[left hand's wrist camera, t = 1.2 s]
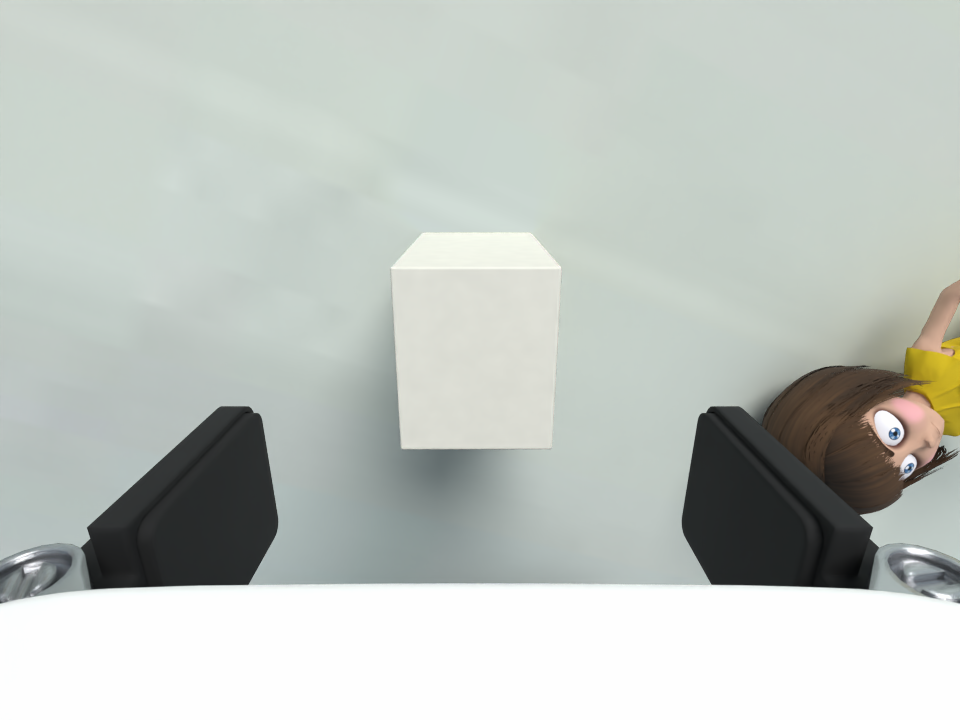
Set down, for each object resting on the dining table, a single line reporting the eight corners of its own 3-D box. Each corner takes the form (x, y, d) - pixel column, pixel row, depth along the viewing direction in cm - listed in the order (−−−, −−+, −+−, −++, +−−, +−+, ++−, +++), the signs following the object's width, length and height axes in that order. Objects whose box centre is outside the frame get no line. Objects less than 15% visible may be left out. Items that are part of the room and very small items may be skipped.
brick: (531, 232, 25) (562, 267, 16) (527, 356, 28) (552, 449, 18) (421, 232, 25) (389, 267, 16) (426, 357, 28) (400, 450, 18)
